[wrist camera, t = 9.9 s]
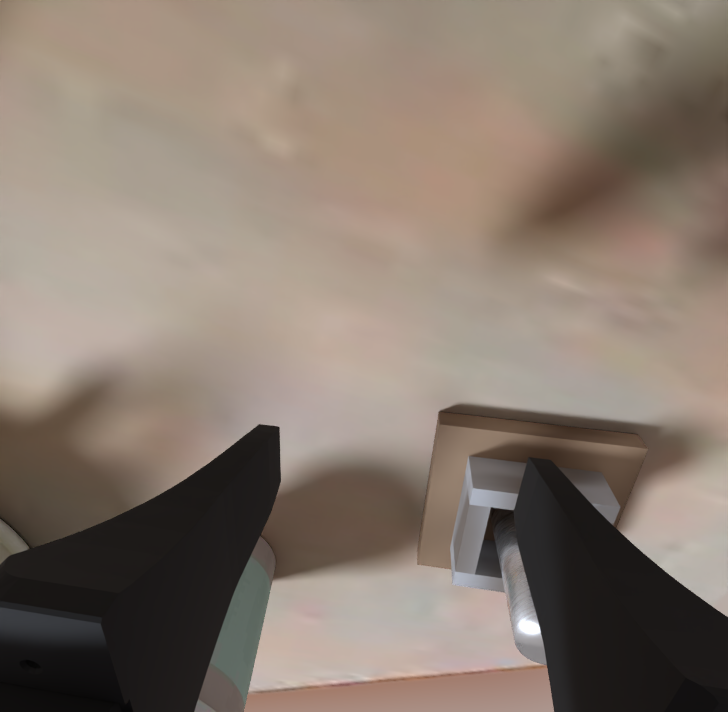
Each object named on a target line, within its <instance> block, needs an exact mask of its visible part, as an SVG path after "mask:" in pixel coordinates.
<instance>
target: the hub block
mask: <svg viewBox="0 0 728 712" xmlns="http://www.w3.org/2000/svg"><path fill="white" fill-rule="evenodd" d="M647 451H648V448H647V446H646V445H645V444H644V442H643V441H642V440H641V438H640V437H639V436H638V435H637V434H629V433H620V432H611V431H603V430H594V429H585V428H577V427H568V426H559V425H550V424H542V423H533V422H524V421H516V420H507V419H498V418H490V417H481V416H472V415H463V414H455V413H446V412H439V414H438V420H437V427H436V433H435V439H434V446H433V452H432V459H431V465H430V472H429V478H428V485H427V491H426V498H425V504H424V510H423V517H422V523H421V530H420V536H419V543H418V558H417V565H424V566H431V567H438V568H445V569H452V584H453V585H457V586H464V587H471V588H478V589H485V590H491V591H498V592H505V589H504V584H503V579H502V574H501V568H500V563H499V558H498V553H497V548H496V543H495V538H494V533H493V528H492V522H491V517H490V509H491V507H492V508H500V509H507V510H514V508H515V505H516V501H517V497H518V494H519V490H520V486H521V482H522V479H523V475H524V471H525V468H526V464H527V460H528V457H532V458H541V459H549V460H551V461H552V462H553V463H554V464H555V465H556V466H557V467H558V468H559V469H560V470H561V471H562V472H563V473H564V475H565V476H566V477H567V478H568V479H569V480H570V481H571V482H572V483H573V484H574V485H575V487H576V488H577V489H578V490H579V491H580V492H581V493H582V494H583V495H584V496H585V497H586V498H587V500H588V501H589V502H590V503H591V504H592V505H593V506H594V507H595V508H596V509H597V510H598V511H599V512H600V513H601V514H602V515H603V516H604V517H605V518H606V519H607V520H608V521H609V522H610V523H611V524H612V525H613V526H614V527H615V528H616V527H617V524H618V522H619V519H620V517H621V515H622V512H623V510H624V507H625V505H626V502H627V500H628V498H629V495H630V493H631V490H632V488H633V485H634V483H635V481H636V478H637V476H638V473H639V471H640V468H641V466H642V463H643V461H644V459H645V456H646V454H647Z"/></svg>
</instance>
